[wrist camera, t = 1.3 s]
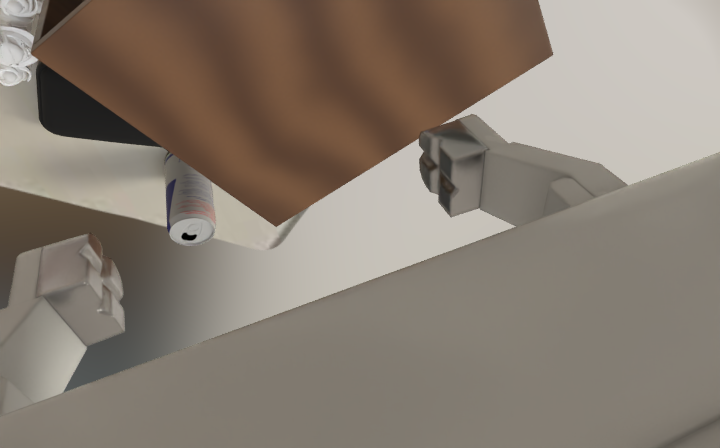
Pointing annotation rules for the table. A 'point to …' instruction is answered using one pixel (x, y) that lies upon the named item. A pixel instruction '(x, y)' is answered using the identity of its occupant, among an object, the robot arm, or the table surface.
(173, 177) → the energy drink
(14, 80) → the hat wearing toy figure
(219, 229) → the table surface
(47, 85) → the carrying case
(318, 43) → the cabinet
